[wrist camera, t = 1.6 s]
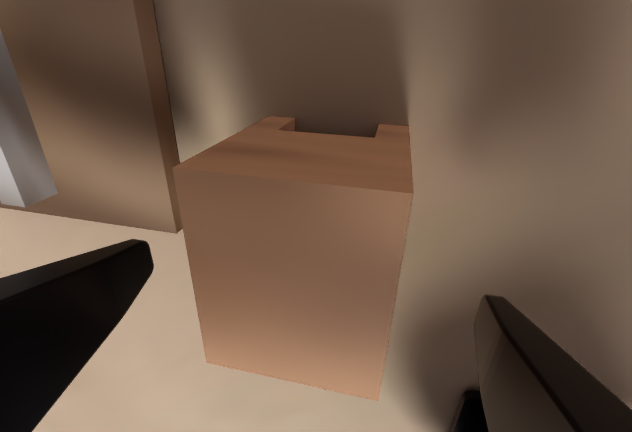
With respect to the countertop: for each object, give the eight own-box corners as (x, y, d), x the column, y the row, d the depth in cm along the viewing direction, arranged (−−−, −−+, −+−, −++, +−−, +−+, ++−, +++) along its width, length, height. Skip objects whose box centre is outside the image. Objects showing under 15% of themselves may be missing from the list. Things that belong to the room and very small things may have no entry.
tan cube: (387, 270, 14) (378, 400, 9) (270, 253, 15) (201, 361, 10) (408, 126, 12) (412, 193, 6) (264, 115, 12) (166, 167, 7)
